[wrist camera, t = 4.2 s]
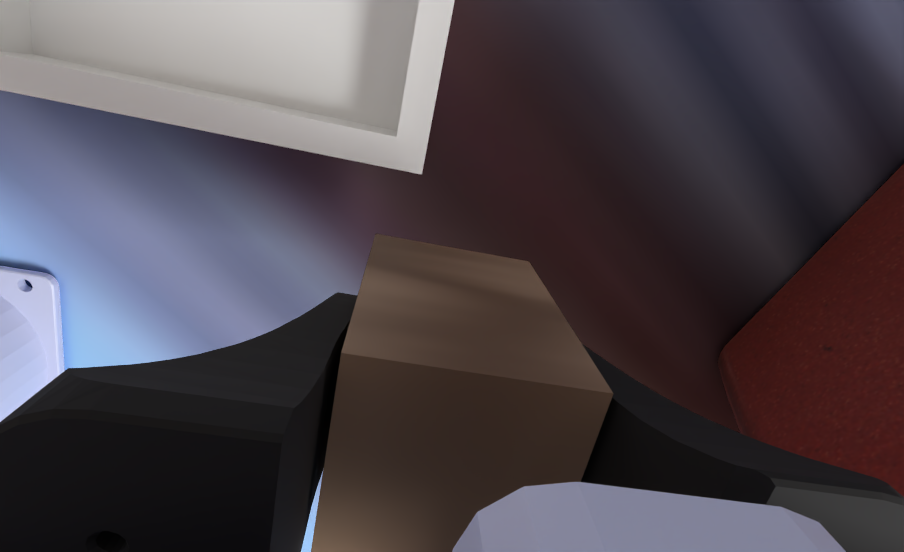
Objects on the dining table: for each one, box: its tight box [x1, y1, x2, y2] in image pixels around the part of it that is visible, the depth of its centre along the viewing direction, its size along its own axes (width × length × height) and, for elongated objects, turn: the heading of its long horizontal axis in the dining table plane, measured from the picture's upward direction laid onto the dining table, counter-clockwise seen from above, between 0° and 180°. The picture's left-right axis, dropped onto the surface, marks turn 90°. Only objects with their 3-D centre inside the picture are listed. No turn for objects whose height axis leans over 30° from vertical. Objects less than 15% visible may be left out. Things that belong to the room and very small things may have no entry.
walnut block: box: [311, 234, 614, 552], centre depth 11 cm, size 4×4×6 cm
